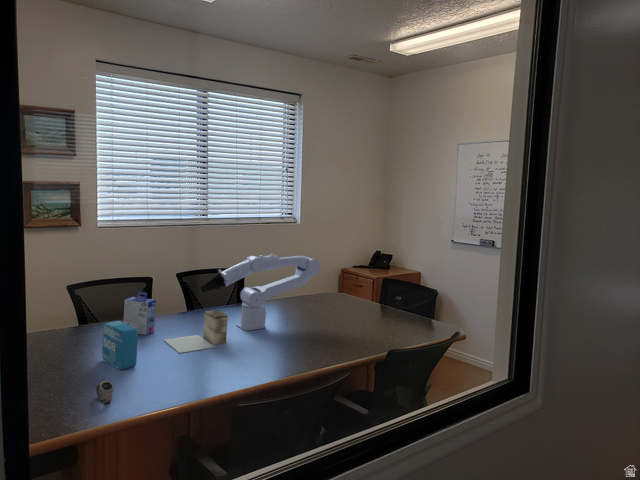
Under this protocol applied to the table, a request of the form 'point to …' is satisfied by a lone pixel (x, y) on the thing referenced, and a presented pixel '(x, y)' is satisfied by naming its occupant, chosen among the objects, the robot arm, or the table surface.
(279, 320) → the table surface
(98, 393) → the grey stone mug
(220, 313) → the ash block
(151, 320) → the ink cartridge box
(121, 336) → the data package
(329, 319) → the table surface
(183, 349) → the mat
